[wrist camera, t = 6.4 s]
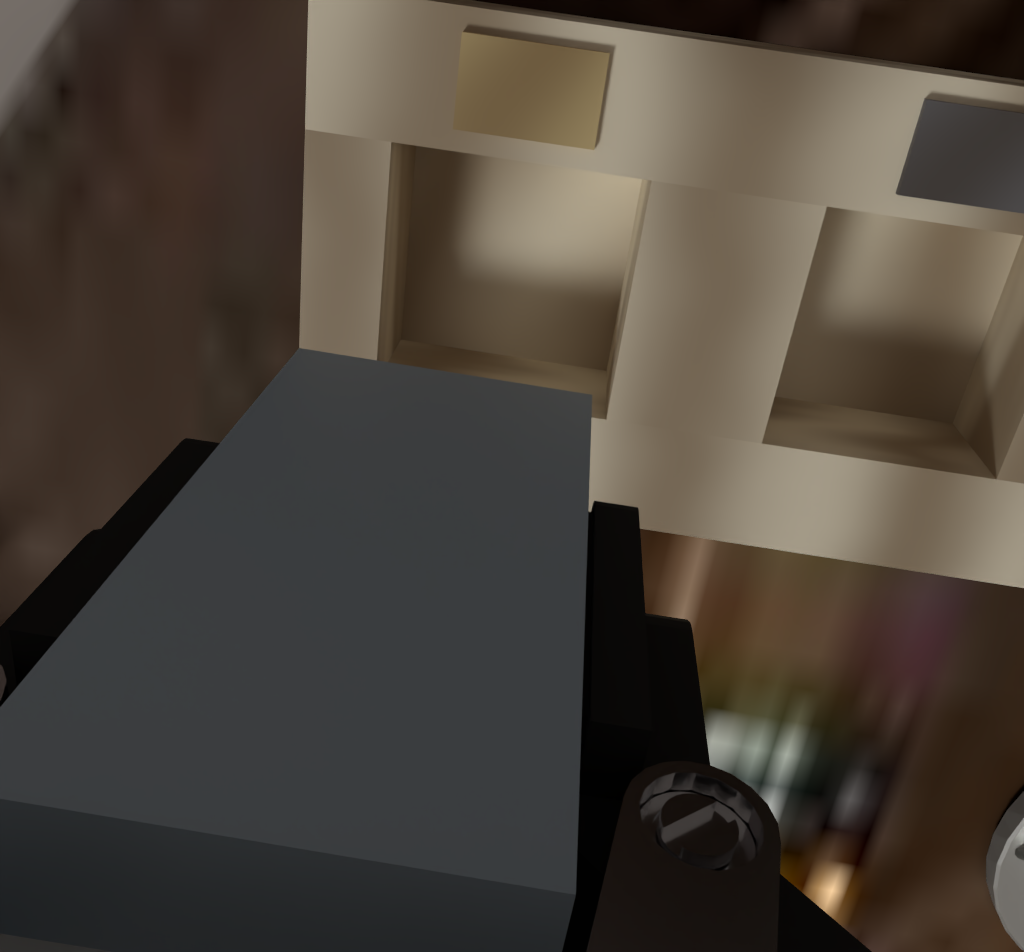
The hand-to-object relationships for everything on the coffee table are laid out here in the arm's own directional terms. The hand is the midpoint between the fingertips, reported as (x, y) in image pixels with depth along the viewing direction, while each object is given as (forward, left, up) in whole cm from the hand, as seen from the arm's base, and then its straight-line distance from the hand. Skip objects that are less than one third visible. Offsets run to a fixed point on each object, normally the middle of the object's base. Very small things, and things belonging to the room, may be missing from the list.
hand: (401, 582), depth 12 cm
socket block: (-5, 0, -17) cm, 18 cm away
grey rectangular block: (0, 0, -2) cm, 2 cm away
